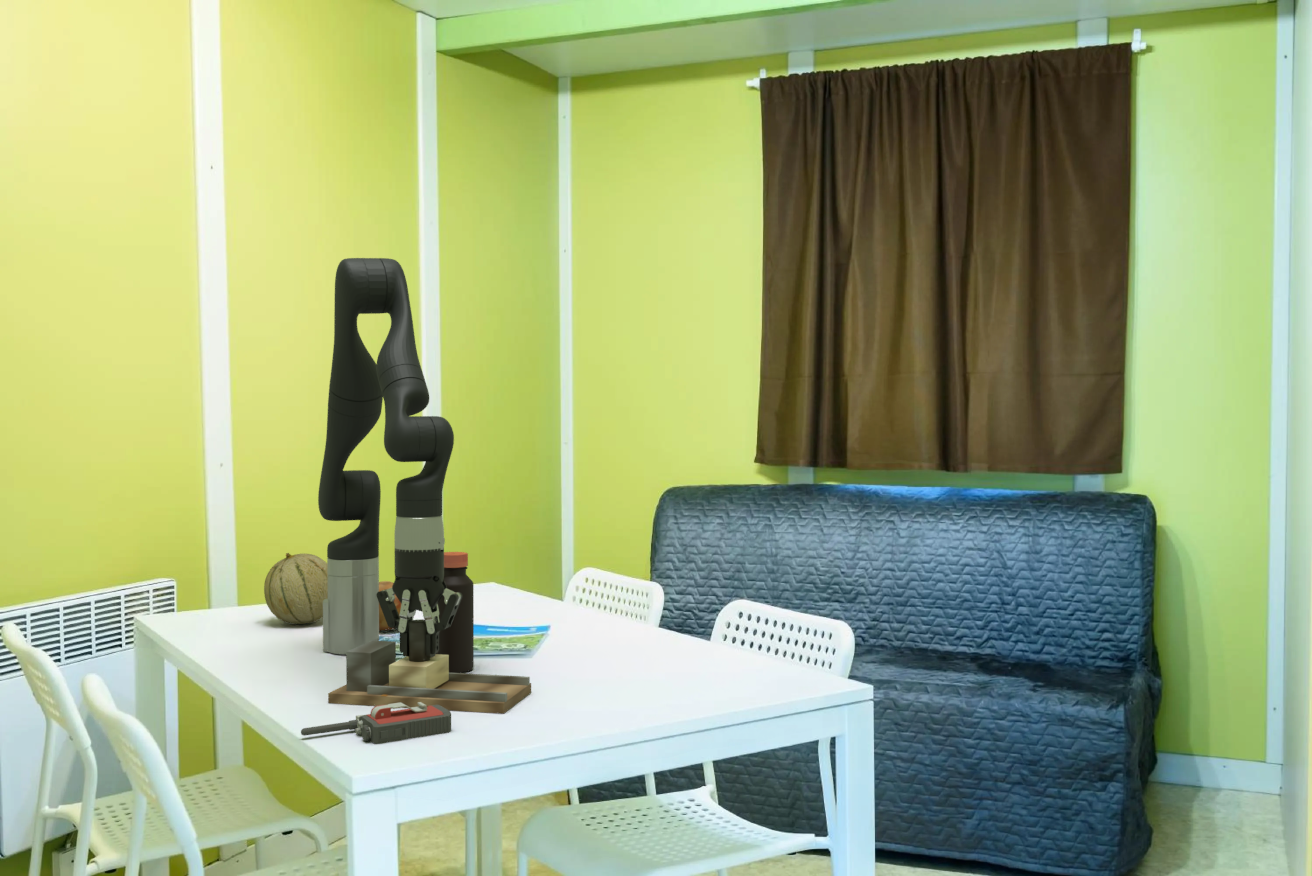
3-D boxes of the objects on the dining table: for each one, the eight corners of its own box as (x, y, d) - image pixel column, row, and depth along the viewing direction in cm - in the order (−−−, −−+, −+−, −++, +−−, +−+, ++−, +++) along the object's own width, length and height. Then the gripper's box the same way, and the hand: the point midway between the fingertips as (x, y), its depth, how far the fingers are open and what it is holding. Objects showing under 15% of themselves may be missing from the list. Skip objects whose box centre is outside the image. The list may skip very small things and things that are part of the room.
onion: (421, 628, 238) (421, 579, 238) (388, 637, 229) (388, 586, 229) (384, 624, 243) (383, 576, 242) (350, 632, 234) (350, 582, 234)
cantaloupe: (353, 622, 246) (352, 550, 245) (297, 633, 233) (297, 558, 233) (304, 615, 253) (304, 545, 253) (248, 625, 241) (248, 552, 241)
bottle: (440, 675, 197) (439, 556, 196) (428, 667, 203) (428, 552, 202) (478, 671, 200) (478, 554, 199) (466, 664, 206) (466, 550, 205)
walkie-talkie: (436, 719, 171) (298, 740, 160) (436, 689, 170) (298, 708, 160) (461, 734, 163) (318, 756, 152) (461, 702, 163) (318, 723, 152)
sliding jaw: (389, 691, 178) (388, 625, 178) (413, 678, 187) (413, 615, 187) (426, 693, 177) (425, 627, 177) (448, 679, 186) (448, 617, 186)
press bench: (328, 703, 178) (328, 654, 178) (366, 683, 191) (366, 637, 191) (503, 713, 172) (503, 662, 172) (531, 692, 185) (531, 645, 185)
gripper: (366, 546, 179) (366, 659, 180) (453, 549, 176) (453, 663, 177) (387, 541, 187) (387, 649, 187) (471, 543, 184) (471, 653, 184)
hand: (419, 655), depth 182 cm, fingers closed on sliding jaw, 3 cm apart
